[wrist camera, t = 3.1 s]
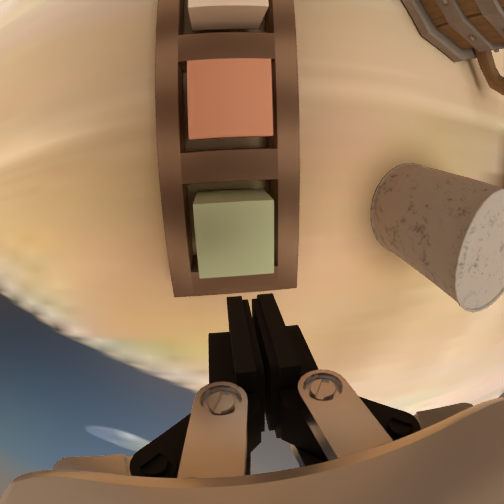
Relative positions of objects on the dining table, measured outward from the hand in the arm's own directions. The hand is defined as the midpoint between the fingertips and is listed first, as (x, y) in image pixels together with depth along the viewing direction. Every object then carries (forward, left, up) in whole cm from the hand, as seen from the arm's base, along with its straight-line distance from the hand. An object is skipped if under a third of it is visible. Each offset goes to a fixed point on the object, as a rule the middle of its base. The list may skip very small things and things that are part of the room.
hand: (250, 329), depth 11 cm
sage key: (0, 0, -13) cm, 13 cm away
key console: (-9, 0, -15) cm, 18 cm away
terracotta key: (-9, 0, -13) cm, 16 cm away
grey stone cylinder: (0, +18, -16) cm, 24 cm away
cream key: (-18, 0, -13) cm, 23 cm away
